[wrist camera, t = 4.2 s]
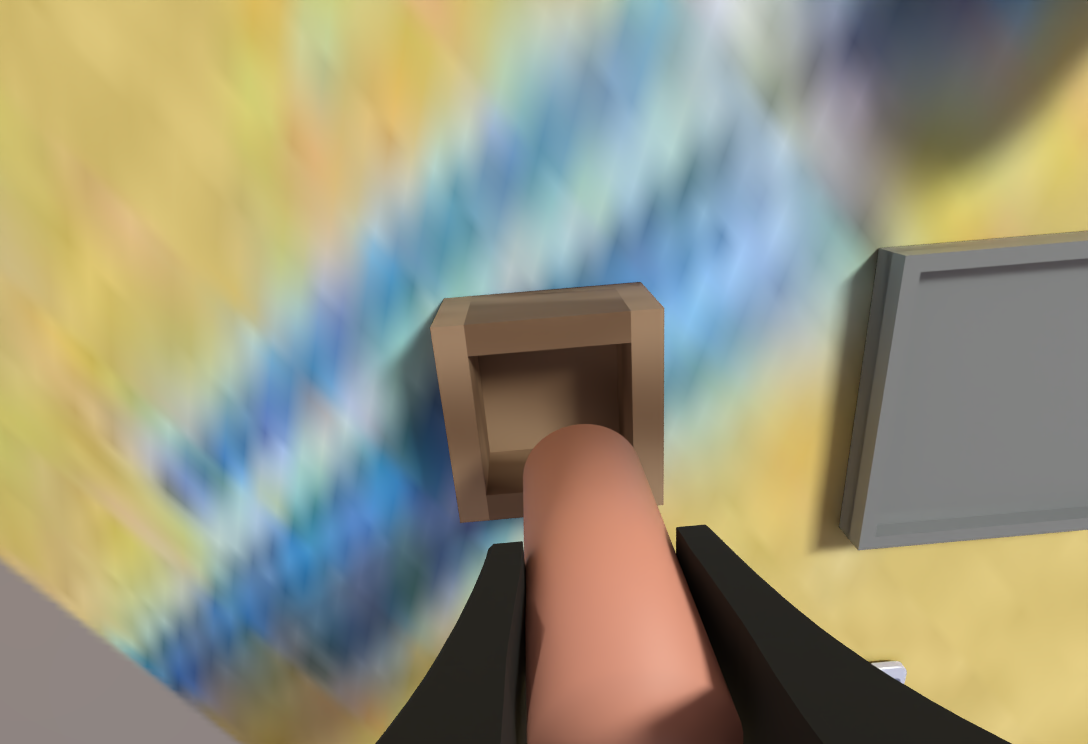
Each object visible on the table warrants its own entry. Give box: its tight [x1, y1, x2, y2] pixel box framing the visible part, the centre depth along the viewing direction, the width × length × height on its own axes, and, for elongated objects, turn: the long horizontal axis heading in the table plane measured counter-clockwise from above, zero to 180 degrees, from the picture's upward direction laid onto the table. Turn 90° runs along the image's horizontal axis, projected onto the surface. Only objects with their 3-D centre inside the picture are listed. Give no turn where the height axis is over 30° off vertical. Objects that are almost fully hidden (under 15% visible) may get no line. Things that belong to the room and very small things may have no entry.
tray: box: [839, 231, 1088, 550], centre depth 22 cm, size 12×12×2 cm
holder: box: [430, 282, 664, 523], centre depth 20 cm, size 7×7×4 cm
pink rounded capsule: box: [523, 424, 743, 744], centre depth 12 cm, size 3×3×8 cm
